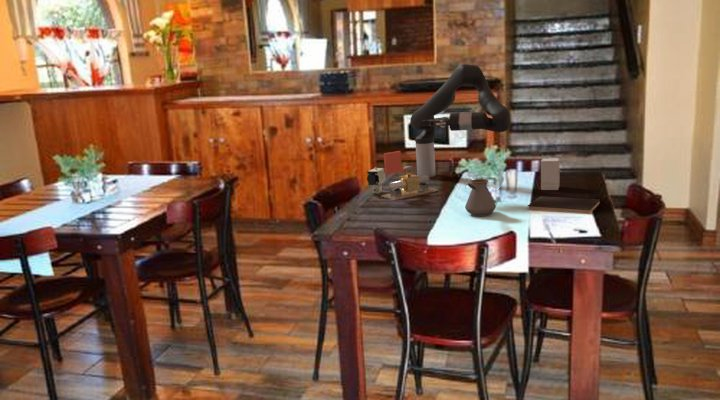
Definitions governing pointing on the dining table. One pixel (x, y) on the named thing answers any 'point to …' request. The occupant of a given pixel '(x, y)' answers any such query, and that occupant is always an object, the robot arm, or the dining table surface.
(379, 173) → the pneumatic valve
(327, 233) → the dining table surface
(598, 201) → the hardcover book
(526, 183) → the dining table surface
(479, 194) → the coffee pot
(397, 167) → the lever
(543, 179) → the supplement box
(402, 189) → the valve body
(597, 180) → the dining table surface
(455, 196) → the dining table surface
